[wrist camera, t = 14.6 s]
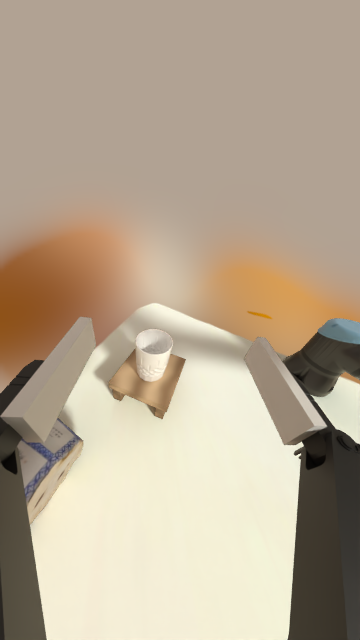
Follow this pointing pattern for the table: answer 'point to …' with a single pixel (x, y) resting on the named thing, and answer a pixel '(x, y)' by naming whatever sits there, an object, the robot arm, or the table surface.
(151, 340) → the white cup
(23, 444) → the potted plant
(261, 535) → the table surface
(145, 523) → the table surface
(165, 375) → the stool
